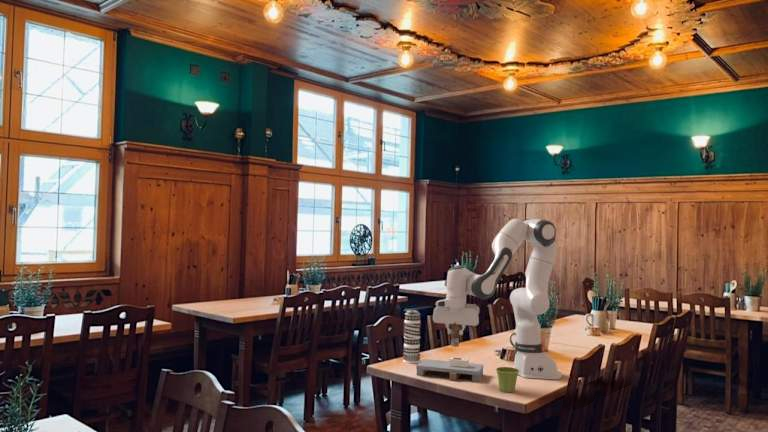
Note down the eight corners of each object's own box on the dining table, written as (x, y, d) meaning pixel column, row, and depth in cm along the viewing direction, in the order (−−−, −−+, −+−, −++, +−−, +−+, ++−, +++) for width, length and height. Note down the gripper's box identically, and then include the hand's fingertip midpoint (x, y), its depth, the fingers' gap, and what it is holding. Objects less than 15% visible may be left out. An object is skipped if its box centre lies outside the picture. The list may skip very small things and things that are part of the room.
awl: (459, 345, 254) (460, 320, 255) (458, 347, 251) (458, 321, 251) (451, 344, 256) (452, 320, 256) (450, 346, 252) (450, 321, 252)
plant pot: (514, 395, 229) (514, 373, 229) (492, 391, 234) (492, 370, 234) (521, 390, 237) (522, 369, 237) (500, 386, 242) (500, 365, 242)
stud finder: (468, 365, 258) (468, 358, 258) (467, 367, 254) (467, 360, 255) (451, 363, 261) (451, 356, 261) (449, 365, 257) (449, 358, 257)
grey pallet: (483, 373, 263) (483, 363, 263) (477, 383, 246) (478, 372, 246) (424, 367, 272) (424, 357, 272) (414, 376, 254) (415, 366, 255)
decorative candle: (407, 364, 277) (408, 312, 278) (399, 359, 286) (400, 309, 286) (424, 362, 281) (425, 311, 282) (415, 358, 290) (416, 309, 290)
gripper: (480, 303, 254) (479, 335, 253) (435, 300, 260) (434, 331, 260) (478, 305, 248) (477, 337, 247) (432, 302, 254) (431, 333, 254)
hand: (455, 334), depth 253 cm, fingers closed on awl, 4 cm apart
